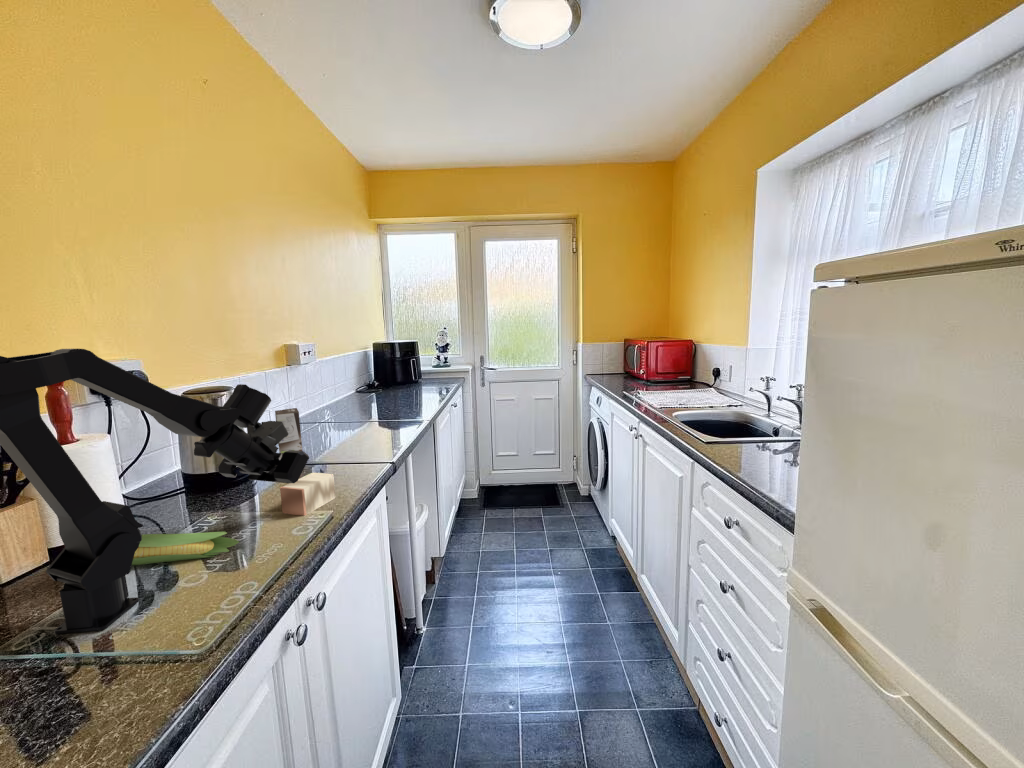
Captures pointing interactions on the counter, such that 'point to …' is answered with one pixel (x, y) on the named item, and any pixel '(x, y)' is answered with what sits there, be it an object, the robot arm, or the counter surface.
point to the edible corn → (180, 547)
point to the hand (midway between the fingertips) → (289, 481)
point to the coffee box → (290, 430)
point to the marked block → (307, 493)
